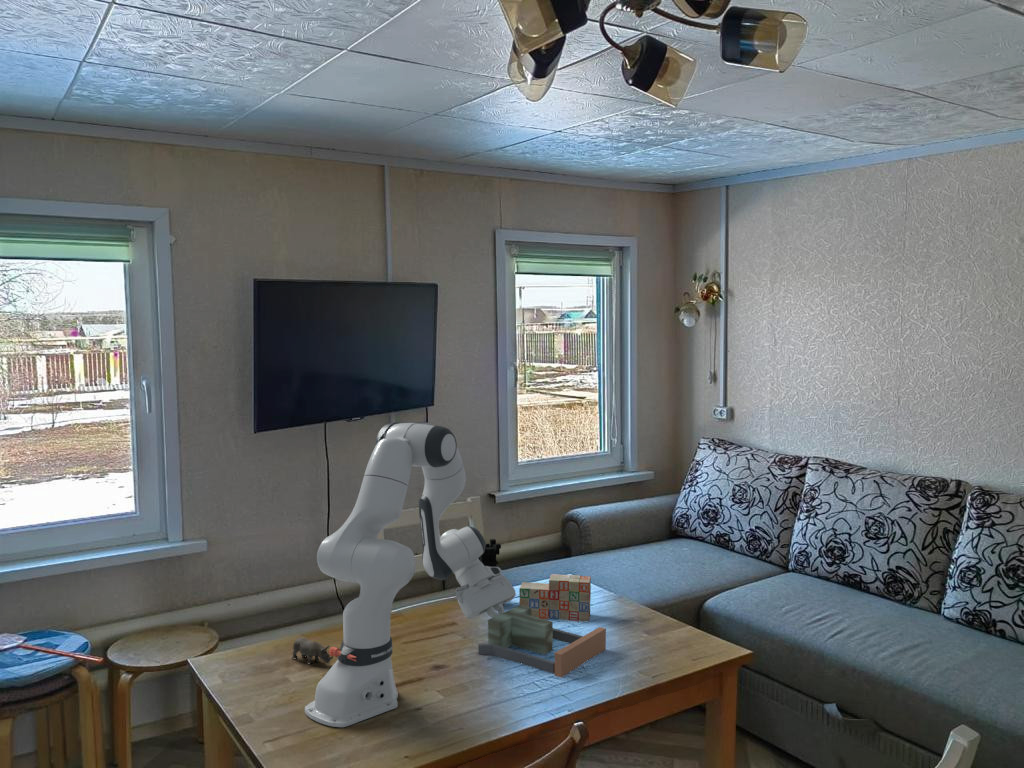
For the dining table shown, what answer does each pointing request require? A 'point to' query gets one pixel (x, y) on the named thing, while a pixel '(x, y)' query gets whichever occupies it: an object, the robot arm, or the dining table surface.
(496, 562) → the chess piece
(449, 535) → the robot arm
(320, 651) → the rhino figurine
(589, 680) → the dining table surface
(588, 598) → the stack of blocks
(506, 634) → the T block
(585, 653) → the bay
